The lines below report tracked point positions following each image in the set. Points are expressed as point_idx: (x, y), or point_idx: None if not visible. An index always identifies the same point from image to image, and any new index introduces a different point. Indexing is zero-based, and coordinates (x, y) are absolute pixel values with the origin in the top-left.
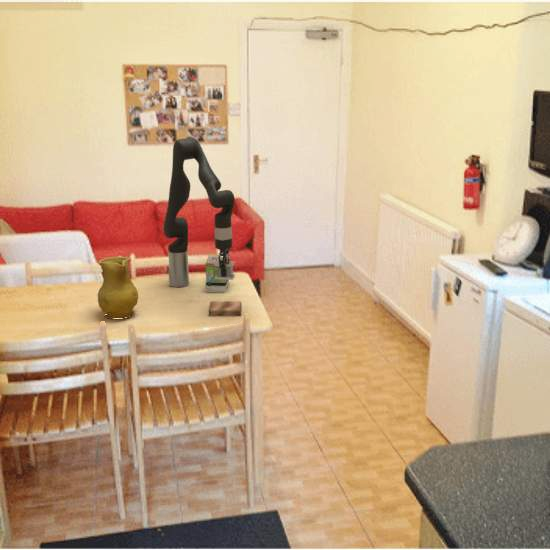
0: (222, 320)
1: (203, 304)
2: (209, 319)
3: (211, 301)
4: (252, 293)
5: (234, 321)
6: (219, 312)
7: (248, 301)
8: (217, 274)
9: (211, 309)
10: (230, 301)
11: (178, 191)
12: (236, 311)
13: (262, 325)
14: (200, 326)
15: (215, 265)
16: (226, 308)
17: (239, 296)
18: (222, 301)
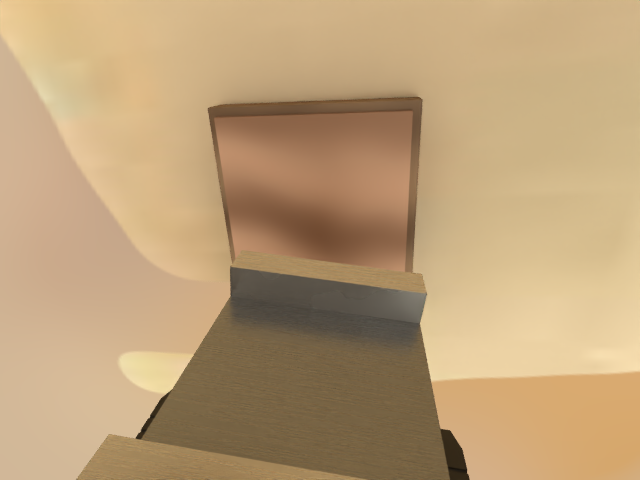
0: (168, 200)
1: (466, 31)
2: (168, 117)
3: (409, 114)
4: (636, 368)
5: (167, 264)
6: (222, 186)
7: (483, 340)
8: (213, 335)
9: (232, 131)
10: (399, 258)
11: None
12: None
13: (147, 378)
14: (47, 68)
15: (103, 477)
16: (261, 235)
17: (597, 294)
18: (403, 202)
